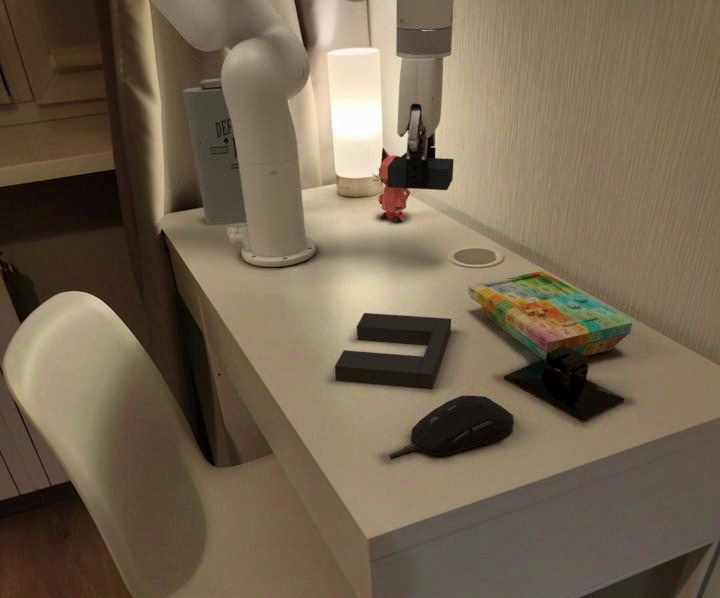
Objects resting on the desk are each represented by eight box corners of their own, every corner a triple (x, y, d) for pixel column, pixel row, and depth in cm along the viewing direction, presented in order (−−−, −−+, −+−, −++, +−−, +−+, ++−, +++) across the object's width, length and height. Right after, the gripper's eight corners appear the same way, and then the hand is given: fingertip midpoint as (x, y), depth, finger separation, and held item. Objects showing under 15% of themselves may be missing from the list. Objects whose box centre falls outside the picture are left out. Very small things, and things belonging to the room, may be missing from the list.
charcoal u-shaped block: (432, 388, 86) (432, 374, 85) (335, 380, 89) (334, 366, 88) (450, 332, 98) (451, 318, 96) (364, 326, 100) (364, 312, 99)
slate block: (447, 190, 107) (448, 169, 105) (387, 187, 109) (387, 166, 107) (452, 179, 111) (453, 158, 109) (395, 176, 113) (395, 156, 111)
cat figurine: (369, 219, 135) (366, 150, 128) (394, 209, 139) (393, 142, 132) (395, 227, 131) (394, 157, 124) (421, 217, 135) (422, 148, 127)
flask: (206, 225, 137) (180, 76, 121) (205, 218, 140) (179, 72, 125) (297, 214, 139) (283, 67, 124) (293, 207, 143) (279, 63, 127)
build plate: (502, 379, 88) (505, 344, 85) (545, 360, 91) (549, 326, 88) (582, 422, 79) (588, 385, 76) (626, 400, 82) (633, 364, 80)
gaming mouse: (376, 442, 78) (374, 411, 76) (491, 405, 83) (493, 375, 80) (404, 473, 74) (403, 441, 71) (524, 433, 78) (528, 401, 76)
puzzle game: (549, 335, 84) (469, 279, 100) (545, 371, 87) (468, 312, 103) (633, 316, 87) (542, 264, 103) (626, 351, 90) (539, 296, 106)
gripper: (408, 33, 106) (407, 164, 117) (383, 52, 93) (383, 197, 104) (460, 33, 104) (453, 166, 115) (441, 52, 91) (435, 200, 102)
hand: (420, 179), depth 109 cm, fingers closed on slate block, 5 cm apart
